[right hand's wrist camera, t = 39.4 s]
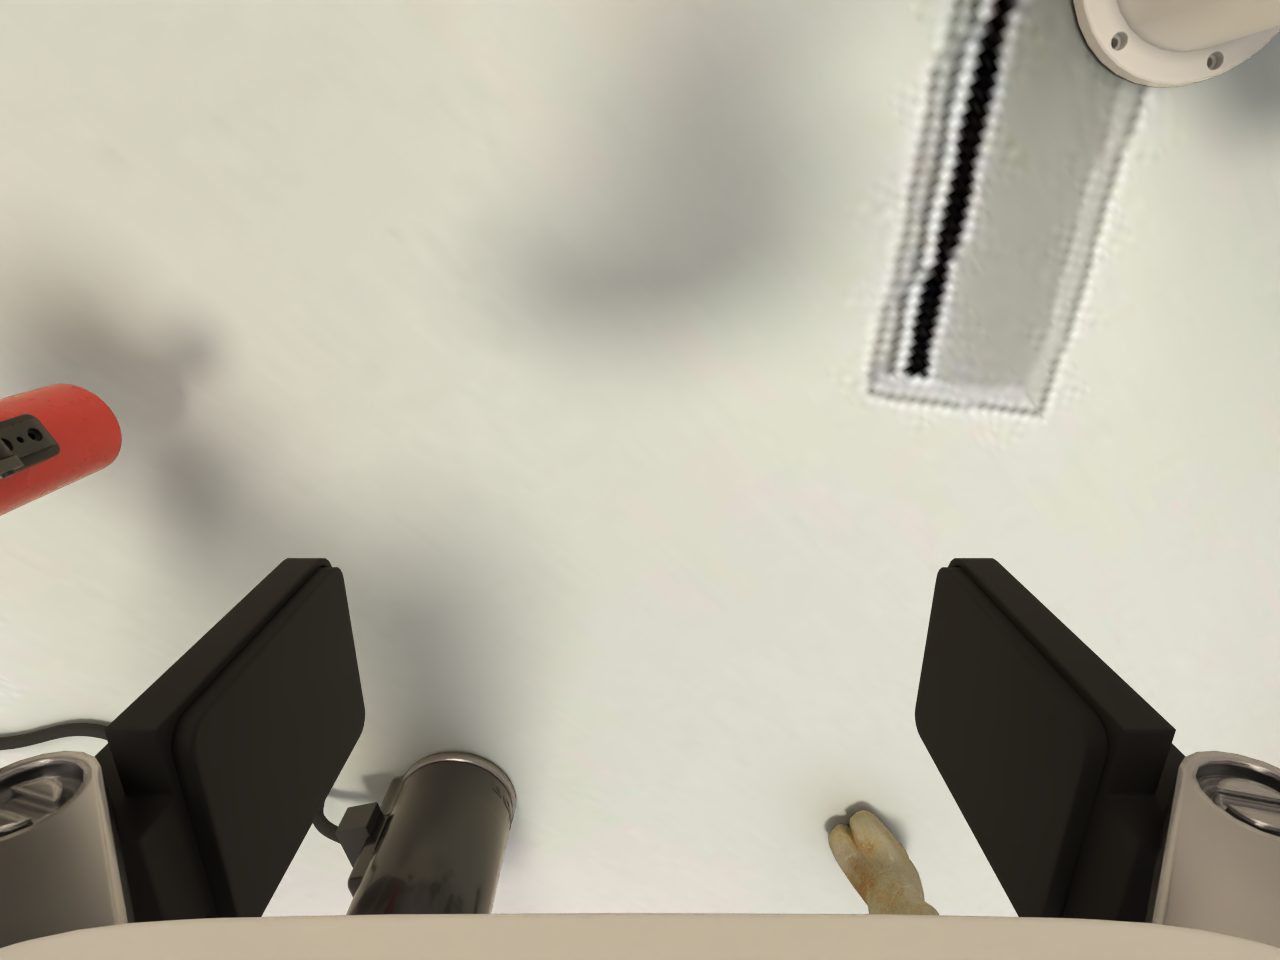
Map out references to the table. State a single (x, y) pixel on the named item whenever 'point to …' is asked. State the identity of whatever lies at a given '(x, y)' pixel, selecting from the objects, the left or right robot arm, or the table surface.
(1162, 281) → the table surface
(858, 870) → the sculpture
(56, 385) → the canister
